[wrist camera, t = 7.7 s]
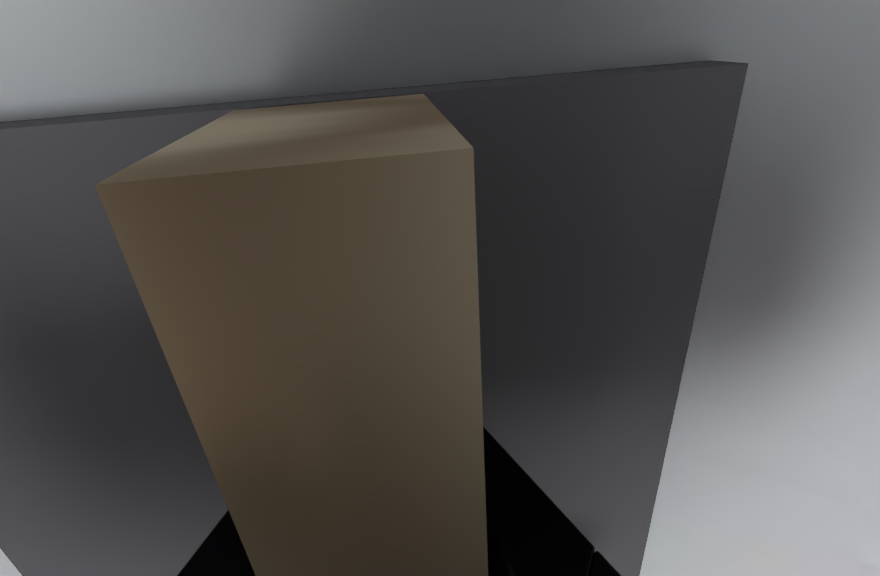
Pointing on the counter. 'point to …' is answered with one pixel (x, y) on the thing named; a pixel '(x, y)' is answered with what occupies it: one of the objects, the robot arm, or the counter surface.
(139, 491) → the charcoal mat
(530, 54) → the counter surface
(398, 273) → the beech scraper
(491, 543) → the robot arm
